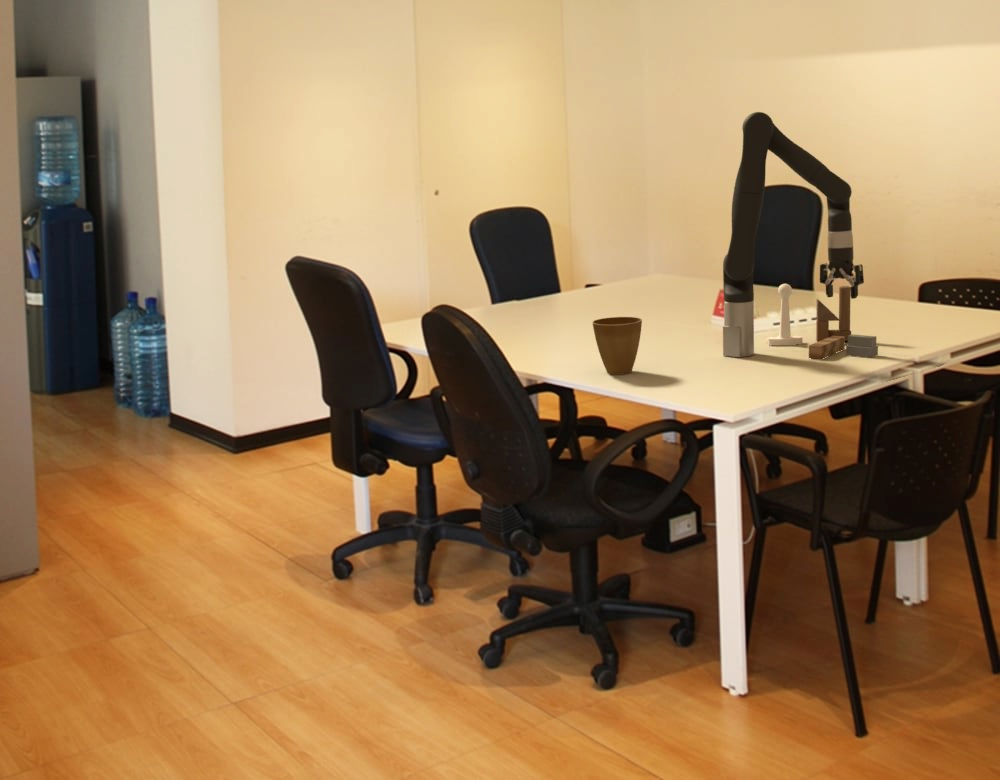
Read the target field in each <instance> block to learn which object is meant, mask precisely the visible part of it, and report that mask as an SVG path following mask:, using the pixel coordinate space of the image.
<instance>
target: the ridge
mask: <svg viewBox="0 0 1000 780" xmlns="http://www.w3.org/2000/svg"><path fill="white" fill-rule="evenodd" d="M845 355H851V356H850V357H856V356H859V357H858V358H865V357H867V359H871V358H874V357H877V356H878V355H879V345H877V336H874V335H864V334H863V335H862V334H854V333H853V334H852V333H851V335H849V336H848V342H847V345H845ZM876 355H877V356H876ZM873 356H874V357H873Z"/></svg>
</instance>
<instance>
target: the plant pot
mask: <svg viewBox="0 0 1000 780" xmlns="http://www.w3.org/2000/svg"><path fill="white" fill-rule="evenodd" d="M642 323H643V319H642V318H641V317H636V316H635V317H634V316H612V317H602V318H598V319H595V320H593V321H592V323H591V324H592V327H593V328H592V329H593V332H594V337H595V338H594V339H595V342H596V345H597V349H598V353H599V355H600V358H601V361H602V364H603V366H604V368H605V371H606V373H607V374H608V373H610V374H609V375H614V374H620V375H627V374H631V373H632V371H633V369H634V365H635V363H636V358H637V354H638V352H639V345H640V341H641V340H640V339H641V333H642Z"/></svg>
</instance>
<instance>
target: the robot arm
mask: <svg viewBox="0 0 1000 780" xmlns="http://www.w3.org/2000/svg"><path fill="white" fill-rule="evenodd" d="M741 129H742V152H741V153H742V154H741V161H740V163H739V168H738V171H737V174H736V179H735V183H734V186H733V195H732V200H731V201H732V202H731V203H732V204H731V234H730V235H731V236H730V237H731V238H730V241H729V245H728V250H727V254H726V255H725V256H724V258H723V263H722V272H723V273H722V274H723V275H722V278H723V279H722V280H723V284H722V285H723V320H724V321H723V326H722V355H723V357H733V358H742V357H751V356H753V355H755V310H754V309H755V293H754V292H755V291H754V290H755V289H754V269H755V245H756V236H757V231H758V228H759V227H758V226H759V222H760V219H761V215H762V210H763V204H764V203H763V202H764V198H765V197H764V195H765V191H766V190H765V187H766V168H767V167H766V165H767V164H766V163H767V157H768V152H771V153H772V154H774V155H775V156H776V157H778V158H779V159H780V160H781V161H783V162H784V164H786V165H787V166H788V167H789V168H790V169H791V170H792V171H793V172H794V173H795V174H797V175H798V176H799V177H800V178H801V179H802V180H804V181H806V182H807V183H808V184H810V185H811V186H813V187H815V188H816V189H817V190H818V191H819V192H821V194H822V195H824V196H825V197H826V205H827V215H828V216H827V228H828V229H827V259H828V262H829V263H821V264H820V265H819V282H820V284H824V285H825V295H826V297H827V298H832V297H834V285H833V284H834V282H835V280H837V279H842V280H844V279H845V280H846V281H847V282H848V283H849V285H850V288H851V293H850V300H852V299H853V300H854V299H857V297H858V296H859V286H860V285H863V284H864V282H865V280H864V279H865V278H864V270H863V269H864V268H863V267H864V266H863V264H857V265H856V264H855V265H854V263H853V262H854V237H853V230H852V229H853V227H852V226H853V225H852V224H853V223H852V221H853V220H852V214H851V210H850V208H851V205H850V201H851V200H850V198H851V196H852V193H853V191H852V187H851V185H850V184H849V183H848V182H847V181H846V180H844V179H843V178H841V177H840V176H838V174H835V173H834V171H832V170H830V169H829V168H828V167H827V165H825V164H824V163H823V162H822V161H820V160H819V159H818V158H816V157H815V156H814V155H812V154H811V153H810V152H808V150H806V149H804V148H803V147H802V146H799V145H798V144H797V143H795V142H794V141H792V139H790V138H789V137H788V136H786V135H785V134H784V133H783V132H782V131H781V130H780V129H779V128H778V127H777V126H776V124H775V123H774V121H773V119H772V118H771V116H770V115H769V114H767V113H765V112H763V111H762V112H761V111H756V112H755V111H754V112H752V113H750V114H748V115H747V116H746V117H745V119H744V120H743V123H742V127H741ZM829 271H830V273H828V272H829Z"/></svg>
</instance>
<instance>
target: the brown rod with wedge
mask: <svg viewBox="0 0 1000 780" xmlns="http://www.w3.org/2000/svg"><path fill="white" fill-rule="evenodd" d="M838 290H839V291H838V317H837V316H836V314H834V313H833V312H832V311H831V310H830V309H829V308H828V307H827V306H826V305H825V304H824V303H822V301H820V300H819V299H818V298H816V327H815V328H816V329H815V332H816V336H815V338H816V339H815V340H816V342H819V341H821V340H824V339H826V338H829V337H831V336H843V337H845V341H848V336H849V335H852V330H851V286H849V285H843V286H842V285H841V286H839V287H838ZM835 321H838V329H830V327H829V326H830V324H829V323H830V322H835Z"/></svg>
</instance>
